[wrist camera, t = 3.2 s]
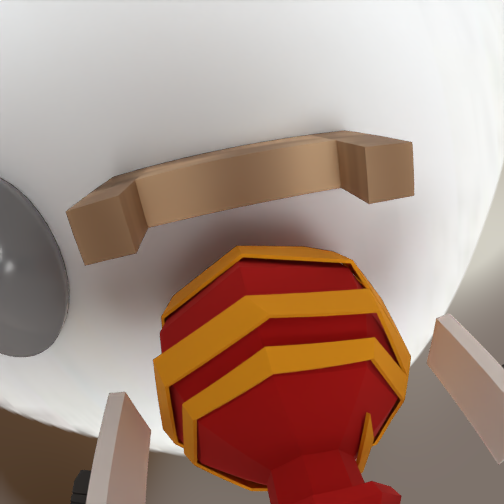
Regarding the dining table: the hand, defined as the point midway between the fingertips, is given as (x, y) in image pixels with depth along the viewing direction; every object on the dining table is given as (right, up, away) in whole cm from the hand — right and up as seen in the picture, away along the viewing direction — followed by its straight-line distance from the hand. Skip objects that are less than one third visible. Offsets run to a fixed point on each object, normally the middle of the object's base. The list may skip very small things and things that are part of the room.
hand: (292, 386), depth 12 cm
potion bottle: (-1, +3, +7) cm, 8 cm away
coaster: (-19, +4, +3) cm, 19 cm away
